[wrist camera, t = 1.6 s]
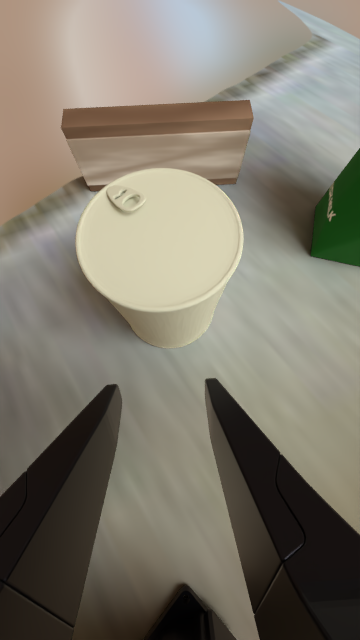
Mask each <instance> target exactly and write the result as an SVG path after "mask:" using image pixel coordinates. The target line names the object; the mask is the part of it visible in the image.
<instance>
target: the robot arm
mask: <svg viewBox="0 0 360 640" xmlns="http://www.w3.org/2000/svg"><path fill="white" fill-rule="evenodd" d="M205 401H206V409H207V417H208V424H209V432H210V438H211V443H212V447H213V451H214V455H215V460H216V464H217V468H218V472H219V476H220V480H221V484H222V488H223V492H224V496H225V500H226V504H227V508H228V512H229V516H230V520H231V524H232V528H233V532H234V537H235V541H236V545H237V549H238V553H239V557H240V561H241V565H242V569H243V573H244V577H245V581H246V585H247V589H248V593H249V597H250V601H251V605H252V609H253V613H254V614H255V615H254V618H255V622H256V626H257V630H258V634H259V638H260V640H360V535H359V534H358V533H357V532H356V531H355V530H354V529H353V528H352V527H351V526H350V525H349V524H348V523H347V522H346V521H345V520H344V519H343V518H342V517H341V516H340V515H339V514H338V513H337V512H336V511H335V510H334V509H333V508H332V507H331V506H330V505H329V504H328V503H327V502H326V501H325V500H324V499H323V498H322V497H321V496H320V495H319V494H318V493H317V492H316V491H315V490H314V489H313V488H312V487H311V486H310V485H309V484H308V483H307V482H306V481H305V480H304V479H303V477H302V476H301V475H300V474H299V473H298V472H297V471H296V470H295V469H294V468H293V466H292V465H291V464H290V463H289V462H288V461H287V459H286V458H285V457H284V456H283V455H282V454H281V455H280V452H279V450H278V449H277V448H276V447H275V446H274V445H273V443H272V442H271V441H270V440H269V439H268V438H267V436H266V435H265V434H264V433H263V432H262V431H261V430H260V428H259V427H258V426H257V425H256V424H255V423H254V421H253V420H252V419H251V418H250V417H249V416H248V415H247V413H246V412H245V411H244V410H243V409H242V408H241V406H240V405H239V404H238V403H237V402H236V401H235V400H234V398H233V397H232V396H231V395H230V394H229V393H228V391H227V390H226V389H225V388H224V387H223V386H222V385H221V383H220V382H219V381H218V380H217V379H216V378H207V379H206V380H205ZM121 409H122V398H121V394H120V390H119V386H118V385H117V384H111V385H106V386H105V387H104V388H103V389H102V390H101V391H100V392H99V393H98V395H97V396H96V397H95V398H94V399H93V400H92V401H91V402H90V403H89V404H88V405H87V406H86V407H85V408H84V409H83V410H82V411H81V412H80V414H79V415H78V416H77V417H76V418H75V419H74V420H73V421H72V422H71V423H70V424H69V425H68V426H67V427H66V428H65V429H64V430H63V432H62V433H61V434H60V435H59V436H58V437H57V438H56V439H55V440H54V441H53V442H52V443H51V444H50V445H49V446H48V447H47V448H46V449H45V451H44V452H43V453H42V454H41V455H40V456H39V457H38V458H37V459H36V460H35V461H34V462H33V463H32V464H31V465H30V466H29V467H28V469H27V472H26V471H25V472H24V473H23V474H22V475H21V476H20V477H19V478H18V479H17V480H16V481H15V482H14V483H13V484H12V485H11V486H10V487H9V488H8V489H7V490H6V491H5V492H4V493H3V494H2V495H1V497H0V640H72V635H73V631H74V629H73V627H74V626H75V622H76V618H77V613H78V609H79V605H80V601H81V596H82V592H83V588H84V584H85V579H86V575H87V571H88V567H89V562H90V558H91V554H92V550H93V545H94V541H95V537H96V533H97V528H98V524H99V520H100V516H101V511H102V507H103V503H104V499H105V494H106V490H107V486H108V482H109V477H110V473H111V469H112V465H113V460H114V456H115V452H116V447H117V441H118V433H119V425H120V417H121ZM184 595H188V596H189V598H187V599H185V598H184V597H183V596H184ZM144 640H236V638H235V637H234V636H233V635H232V634H231V632H230V631H229V630H228V629H227V627H226V626H225V625H224V624H223V623H222V621H221V620H220V619H219V618H218V616H217V615H216V614H215V613H214V612H213V610H211V609H207V607H206V606H205V605H204V604H203V603H202V601H201V600H200V599H199V598H198V596H197V595H196V594H195V593H194V592H193V590H192V589H191V588H190V587H189V586H183V587H182V588H181V589H180V591H179V592H178V593H177V595H176V596H175V597H174V599H173V600H172V601H171V603H170V604H169V606H168V607H167V608H166V610H165V611H164V612H163V614H162V615H161V616H160V618H159V619H158V621H157V622H156V623H155V625H154V626H153V627H152V629H151V630H150V632H149V633H148V634H147V636H146V637H145V638H144Z"/></svg>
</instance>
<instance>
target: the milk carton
mask: <svg viewBox="0 0 360 640" xmlns="http://www.w3.org/2000/svg"><path fill="white" fill-rule="evenodd" d="M311 256H313V257H318V258H322V259H327V260H332V261H337V262H341V263H346V264H351V265H355V266H360V148H359V150H358V151H357V152H356V154H355V155H354V156H353V158H352V159H351V160H350V162H349V163H348V164H347V166H346V167H345V168H344V170H343V171H342V172H341V173H340V175H339V176H338V177H337V179H336V180H335V181H334V183H333V184H332V185H331V187H330V188H329V189H328V191H327V192H326V194H325V195H324V196H323V198H322V199H321V200H320V202H319V203H318V204H317V206H316V209H315V219H314V228H313V238H312V247H311Z"/></svg>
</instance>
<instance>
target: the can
mask: <svg viewBox="0 0 360 640" xmlns="http://www.w3.org/2000/svg"><path fill="white" fill-rule="evenodd" d="M75 246H76V254H77V258H78V262H79V264H80V267H81V269H82V271H83V273H84V275H85V277H86V278H87V279H88V281H89V282H90V284H91V285H92V286H93V287H94V288H95V289H96V290H97V291H98V292H99V293H100V294H102V295H103V296H104V297H106V298H107V299H108V301H109V302H110V303H111V304H112V305H113V306H114V307H115V308H116V309H117V310H118V311H119V312H120V314H121V315H122V316H123V317H124V318H125V319H126V320H127V321H128V323H129V324H130V326H131V328H132V329H133V331H134V332H135V333H136V334H137V335H138V336H139V337H140V338H141V339H142V340H144V341H145V342H147V343H149V344H151V345H153V346H157V347H161V348H178V347H182V346H185V345H188V344H190V343H192V342H194V341H195V340H197V339H198V338H199V337H200V336H201V335H202V334H203V333H204V332H205V331H206V330H207V328H208V327H209V325H210V323H211V320H212V318H213V314H214V310H215V307H216V305H217V303H218V301H219V299H220V297H221V295H222V292H223V290H224V288H225V286H226V284H227V282H228V280H229V279H230V277H231V276H232V274H233V273H234V271H235V269H236V267H237V265H238V263H239V260H240V257H241V254H242V249H243V228H242V223H241V220H240V216H239V214H238V212H237V210H236V208H235V206H234V204H233V203H232V201H231V200H230V199H229V197H228V196H227V195H226V194H225V193H224V192H223V191H222V190H221V189H220V188H219V187H218V186H216V185H215V184H213V183H212V182H210V181H209V180H207V179H205V178H203V177H201V176H199V175H196V174H194V173H191V172H188V171H184V170H179V169H172V168H151V169H145V170H140V171H136V172H132V173H129V174H127V175H124V176H122V177H120V178H118V179H116V180H114V181H112V182H111V183H109V184H108V185H106V186H105V187H104V188H103V189H101V190H100V191H99V192H98V193H97V194H96V195H95V196H94V197H93V198H92V199H91V200H90V202H89V203H88V205H87V206H86V208H85V209H84V211H83V213H82V215H81V217H80V220H79V223H78V226H77V231H76V240H75Z"/></svg>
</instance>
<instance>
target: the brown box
mask: <svg viewBox="0 0 360 640" xmlns="http://www.w3.org/2000/svg"><path fill="white" fill-rule="evenodd" d="M252 122H253V113H252V109H251V104H250V100H240V101H220V102H200V103H178V104H158V105H139V106H117V107H99V108H98V107H96V108H75V109H63V118H62V125H61V128H62V131H63V133H64V135H65V137H66V139H67V140H66V141H67V143H68V145H69V147H70V149H71V151H72V154H73V156H74V158H75V159H76V162H77V164H78V166H79V168H80V170H81V172H82V175H83V177H84V179H85V181H86V183H87V185H88V186H89V188H90V190H91V191H100V190H101V189H103V188H104V187H105V186H106V185H108V184H109V183H111V182H112V181H114V180H116V179H118V178H120V177H122V176H124V175H127V174H129V173H132V172H136V171H140V170H145V169H151V168H172V169H179V170H184V171H188V172H191V173H194V174H196V175H199V176H201V177H203V178H205V179H207V180H209V181H210V182H212V183H213V184H215V185H221V184H236V180H237V178H238V175H239V172H240V168H241V164H242V161H243V157H244V154H245V150H246V146H247V143H248V139H249V136H250V132H251V131H250V129H251V126H252Z"/></svg>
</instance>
